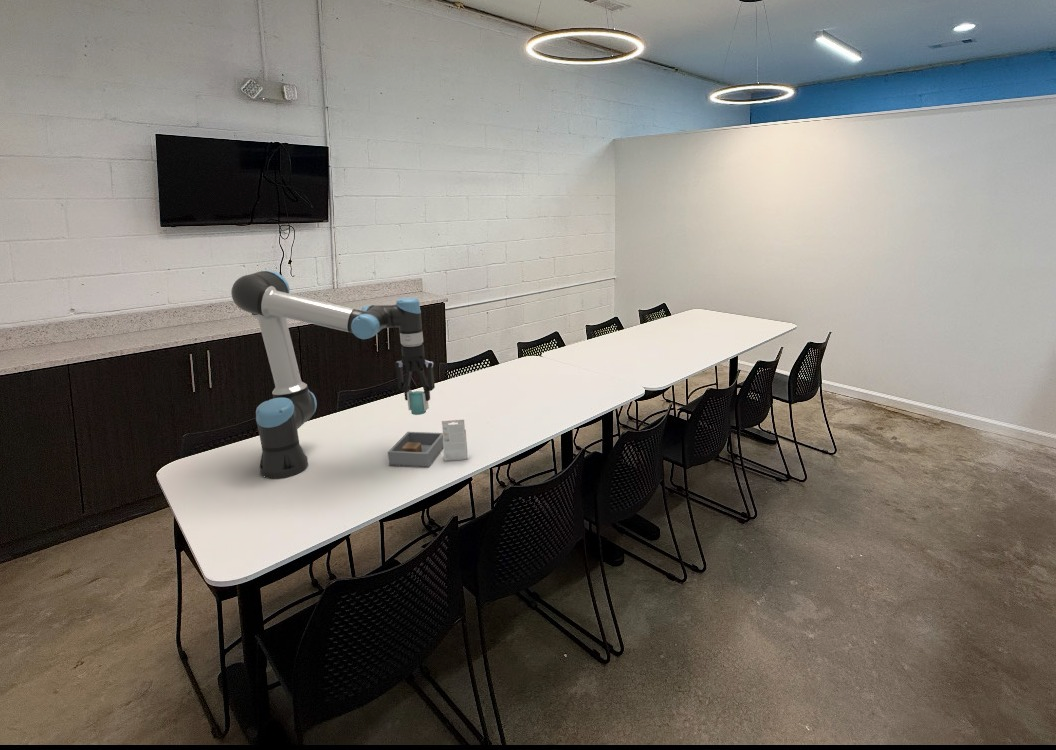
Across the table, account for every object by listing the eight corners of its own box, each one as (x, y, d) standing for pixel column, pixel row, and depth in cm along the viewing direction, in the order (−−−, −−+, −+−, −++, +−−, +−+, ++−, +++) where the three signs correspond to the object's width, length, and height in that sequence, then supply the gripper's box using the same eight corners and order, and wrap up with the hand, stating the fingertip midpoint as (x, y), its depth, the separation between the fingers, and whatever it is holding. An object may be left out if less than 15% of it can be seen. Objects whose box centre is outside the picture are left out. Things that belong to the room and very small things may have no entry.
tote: (389, 465, 197) (387, 452, 196) (408, 444, 214) (407, 431, 213) (428, 467, 195) (427, 453, 194) (445, 445, 212) (444, 433, 210)
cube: (403, 461, 199) (401, 448, 197) (408, 455, 203) (407, 442, 202) (417, 462, 198) (415, 448, 196) (422, 456, 203) (421, 442, 201)
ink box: (444, 457, 203) (441, 417, 198) (467, 455, 203) (464, 415, 199) (444, 461, 199) (440, 421, 195) (467, 459, 200) (464, 419, 196)
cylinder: (414, 409, 207) (412, 391, 205) (427, 410, 206) (426, 391, 204) (409, 414, 202) (407, 395, 200) (423, 415, 201) (421, 395, 199)
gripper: (382, 346, 195) (390, 412, 202) (434, 347, 192) (439, 413, 199) (391, 341, 202) (398, 404, 209) (441, 341, 199) (446, 406, 206)
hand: (418, 408), depth 204 cm, fingers closed on cylinder, 5 cm apart
